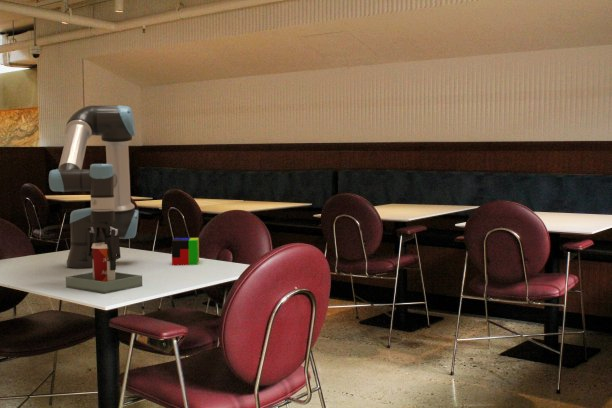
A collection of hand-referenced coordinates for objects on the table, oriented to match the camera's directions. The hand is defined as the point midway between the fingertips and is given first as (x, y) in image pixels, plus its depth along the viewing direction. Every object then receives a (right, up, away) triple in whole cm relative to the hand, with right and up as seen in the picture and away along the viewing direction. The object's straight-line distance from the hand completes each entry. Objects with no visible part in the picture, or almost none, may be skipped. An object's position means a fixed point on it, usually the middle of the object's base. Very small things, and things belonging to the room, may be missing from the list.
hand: (104, 278), depth 228 cm
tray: (0, -3, 0) cm, 3 cm away
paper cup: (0, -2, 0) cm, 2 cm away
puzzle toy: (+18, 0, +50) cm, 54 cm away
